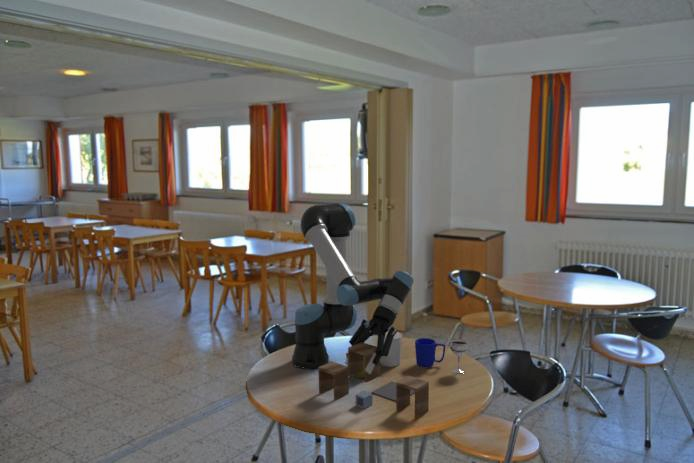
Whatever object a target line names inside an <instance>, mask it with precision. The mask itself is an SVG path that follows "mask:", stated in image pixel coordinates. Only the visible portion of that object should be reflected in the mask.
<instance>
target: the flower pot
mask: <svg viewBox="0 0 694 463" xmlns="http://www.w3.org/2000/svg"><path fill="white" fill-rule="evenodd" d="M345 357H346V359H347V358H348V352H346V353H345ZM353 376H354V377H357V378H359V379H363V378H364V379H365V356H363V370H362V371H360V372H358V373H356V374H354V375H353Z"/></svg>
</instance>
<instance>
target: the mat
mask: <svg viewBox="0 0 694 463" xmlns="http://www.w3.org/2000/svg"><path fill="white" fill-rule="evenodd" d="M371 394H372V395H376V396H379V397H382V398H385V399H388V400H390V401H394V402H396V382H395V381H392V380H391V381H389V382H388V383H386V384H384V385H382V386H380V387H378V388H377V389H376V388H375V389H374V390H373V391H371ZM412 395H415V391H413V390H410V397H411V396H412Z"/></svg>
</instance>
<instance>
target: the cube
mask: <svg viewBox="0 0 694 463" xmlns="http://www.w3.org/2000/svg"><path fill="white" fill-rule="evenodd" d="M372 405H373V393H372V392H367V391H365V390H362V391H360V392H358V393H356V394H355V406H356V407H359V408H361V409H364V410H366V409H367V408H369V407H371V406H372Z"/></svg>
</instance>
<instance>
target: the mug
mask: <svg viewBox="0 0 694 463" xmlns="http://www.w3.org/2000/svg"><path fill="white" fill-rule="evenodd" d="M439 346H441V347H443V351H442V356H441V358H440V359H438V360H437V359H436V349H437V347H439ZM414 348H415V359H416V360H415V362H416V365H418V367H420V368H431V367H432V366H434V363H437V364H438V363H442V362H443V361H444V357H445V354H446V344H444V343H439V342H438V343H436V340H434V339H432V338H427V337H421V338H420V337H419V338H417V339H415V340H414Z"/></svg>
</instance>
